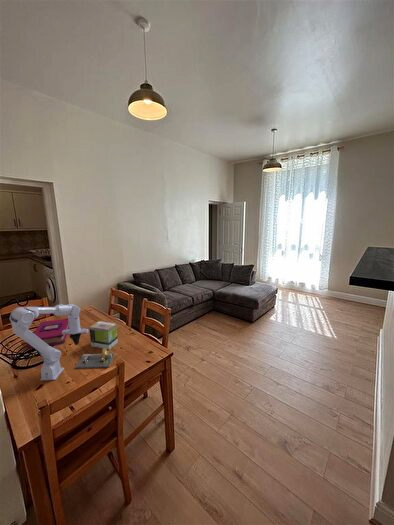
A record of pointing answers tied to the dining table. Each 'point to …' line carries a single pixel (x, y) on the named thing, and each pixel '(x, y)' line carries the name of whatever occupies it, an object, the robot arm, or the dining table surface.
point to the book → (52, 332)
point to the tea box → (103, 334)
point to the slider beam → (94, 356)
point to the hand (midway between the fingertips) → (76, 343)
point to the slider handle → (104, 354)
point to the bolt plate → (95, 363)
